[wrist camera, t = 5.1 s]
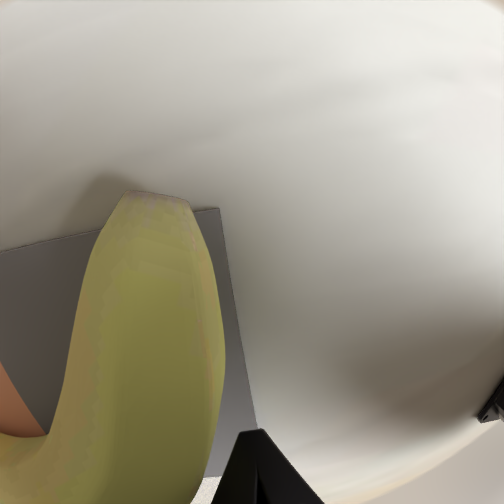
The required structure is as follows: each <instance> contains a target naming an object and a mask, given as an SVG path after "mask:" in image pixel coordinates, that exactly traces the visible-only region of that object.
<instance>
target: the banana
mask: <svg viewBox="0 0 504 504" xmlns="http://www.w3.org/2000/svg"><path fill="white" fill-rule="evenodd" d="M224 375H225V340H224V329H223V323H222V316H221V310H220V303H219V297H218V291H217V285H216V279H215V274H214V270H213V265H212V261H211V258H210V255H209V252H208V249H207V246H206V244H205V241H204V239H203V236H202V233H201V231H200V229H199V226H198V224H197V222H196V219H195V217H194V215H193V212H192V210H191V207H190V205H189V203H188V202H187V201H185V200H183V199H180V198H176V197H171V196H166V195H161V194H155V193H148V192H140V191H125V193H124V194H123V196H122V197H121V199H120V201H119V202H118V204H117V205H116V207H115V209H114V210H113V212H112V213H111V215H110V217H109V218H108V220H107V222H106V224H105V225H104V227H103V229H102V230H101V232H100V234H99V236H98V238H97V240H96V242H95V245H94V247H93V250H92V252H91V255H90V258H89V261H88V265H87V268H86V272H85V275H84V279H83V283H82V288H81V292H80V296H79V301H78V306H77V311H76V316H75V321H74V326H73V332H72V337H71V343H70V348H69V354H68V360H67V366H66V371H65V377H64V382H63V387H62V391H61V395H60V398H59V402H58V405H57V409H56V412H55V416H54V419H53V423H52V426H51V429H50V432H49V434H47V435H44V436H41V437H29V438H21V437H14V436H10V435H7V434H4V433H0V504H190V503H191V502H192V500H193V498H194V497H195V495H196V493H197V491H198V489H199V487H200V485H201V483H202V480H203V477H204V473H205V470H206V467H207V463H208V460H209V456H210V452H211V448H212V444H213V439H214V435H215V431H216V426H217V421H218V415H219V409H220V403H221V397H222V391H223V384H224Z"/></svg>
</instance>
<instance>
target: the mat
mask: <svg viewBox="0 0 504 504" xmlns="http://www.w3.org/2000/svg"><path fill="white" fill-rule="evenodd" d="M193 215H194V217H195V219H196V222H197V224H198V226H199V229H200V231H201V233H202V236H203V239H204V241H205V244H206V246H207V249H208V252H209V255H210V258H211V261H212V265H213V270H214V274H215V279H216V285H217V291H218V297H219V303H220V310H221V316H222V323H223V329H224V340H225V375H224V384H223V391H222V397H221V403H220V409H219V415H218V421H217V426H216V431H215V435H214V439H213V444H212V448H211V452H210V456H209V460H208V463H207V467H206V470H205V473H204V477H203V478H206V477H218V476H222V475H223V472H224V470H225V467H226V465H227V462H228V460H229V457H230V454H231V452H232V449H233V446H234V444H235V441H236V439H237V436H238V434H239V432H241V431H247V430H254V429H257V424H256V418H255V413H254V408H253V403H252V398H251V393H250V387H249V382H248V377H247V371H246V366H245V360H244V355H243V349H242V344H241V338H240V332H239V327H238V321H237V315H236V309H235V303H234V298H233V292H232V286H231V280H230V273H229V267H228V261H227V255H226V249H225V242H224V236H223V230H222V223H221V217H220V210H219V208H217V209H210V210H204V211H198V212H193ZM101 230H102V229H100V230H95V231H90V232H86V233H81V234H76V235H72V236H67V237H63V238H58V239H54V240H49V241H45V242H41V243H36V244H32V245H28V246H24V247H20V248H16V249H12V250H8V251H4V252H0V362H1V364H2V366H3V368H4V369H5V371H6V373H7V375H8V377H9V378H10V380H11V382H12V384H13V385H14V387H15V389H16V390H17V392H18V394H19V395H20V397H21V398H22V400H23V402H24V403H25V405H26V406H27V408H28V409H29V411H30V412H31V414H32V415H33V417H34V418H35V419H36V421H37V422H38V424H39V425H40V427H41V428H42V429H43V431H44V432H45V433H46V435H47V434H49V432H50V429H51V426H52V423H53V419H54V416H55V412H56V409H57V405H58V402H59V398H60V395H61V391H62V387H63V382H64V377H65V371H66V366H67V360H68V354H69V348H70V343H71V337H72V332H73V326H74V321H75V316H76V311H77V306H78V301H79V296H80V292H81V288H82V283H83V279H84V275H85V272H86V268H87V265H88V261H89V258H90V255H91V252H92V250H93V247H94V245H95V242H96V240H97V238H98V236H99V234H100V232H101Z"/></svg>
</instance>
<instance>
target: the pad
mask: <svg viewBox="0 0 504 504" xmlns="http://www.w3.org/2000/svg"><path fill="white" fill-rule="evenodd" d="M0 433H4V434H7V435H10V436H14V437H21V438H29V437H41V436H44V435H46V433H45V432H44V431H43V429H42V428H41V427H40V425H39V424H38V422H37V421H36V419H35V418H34V417H33V415H32V414H31V412H30V411H29V409H28V408H27V406H26V405H25V403H24V402H23V400H22V398H21V397H20V395H19V394H18V392H17V390H16V389H15V387H14V385H13V384H12V382H11V380H10V378H9V377H8V375H7V373H6V371H5V369H4V368H3V366H2V364H1V362H0Z"/></svg>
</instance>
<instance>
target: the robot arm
mask: <svg viewBox="0 0 504 504" xmlns="http://www.w3.org/2000/svg"><path fill="white" fill-rule="evenodd" d="M498 419H501V420H502V421H503V422H504V381H503V382H502V384H501V385H500V387H499V388H498V390H497V391H496V393H495V394H494V396H493V397H492V398H491V400H490V401H489V403H488V404H487V405H486V407H485V408H484V409H483V411H482V412H481V413H480V415H479V416H478V418H477V420H478V421H479V422H480V423H485V422H489V421H494V420H498ZM211 504H325V503H324V502H323V501H322V500H321V499H320V498H319V497H318V496H317V494H316V493H315V492H314V491H313V490H312V489H311V487H310V486H309V485H308V484H307V483H306V482H305V480H304V479H303V478H302V477H301V476H300V474H299V473H298V472H297V471H296V470H295V468H294V467H293V466H292V465H291V463H290V462H289V461H288V460H287V458H286V457H285V456H284V455H283V453H282V452H281V451H280V450H279V448H278V447H277V446H276V444H275V443H274V442H273V441H272V439H271V438H270V437H269V435H268V434H267V433H266V431H265V430H264V429H262V428H260V429H254V430H247V431H241V432H239V434H238V436H237V439H236V441H235V444H234V446H233V449H232V452H231V454H230V457H229V460H228V462H227V465H226V467H225V470H224V472H223V475H222V478H221V480H220V483H219V485H218V488H217V490H216V493H215V495H214V497H213V500H212V502H211Z"/></svg>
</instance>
